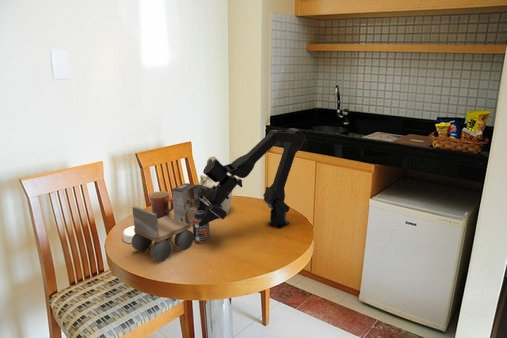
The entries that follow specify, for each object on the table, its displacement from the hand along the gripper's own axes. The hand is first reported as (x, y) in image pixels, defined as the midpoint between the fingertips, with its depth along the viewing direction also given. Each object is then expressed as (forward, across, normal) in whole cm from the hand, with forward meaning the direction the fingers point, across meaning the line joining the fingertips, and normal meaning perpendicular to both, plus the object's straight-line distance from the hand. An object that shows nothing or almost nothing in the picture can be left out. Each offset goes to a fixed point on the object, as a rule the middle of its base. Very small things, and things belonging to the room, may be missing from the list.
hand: (196, 222), depth 143 cm
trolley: (+14, +1, -4) cm, 15 cm away
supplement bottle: (+4, 0, +6) cm, 8 cm away
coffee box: (+5, -17, +6) cm, 19 cm away
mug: (+10, -28, 0) cm, 30 cm away
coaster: (+20, -13, -9) cm, 25 cm away
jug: (-5, -24, +16) cm, 29 cm away
